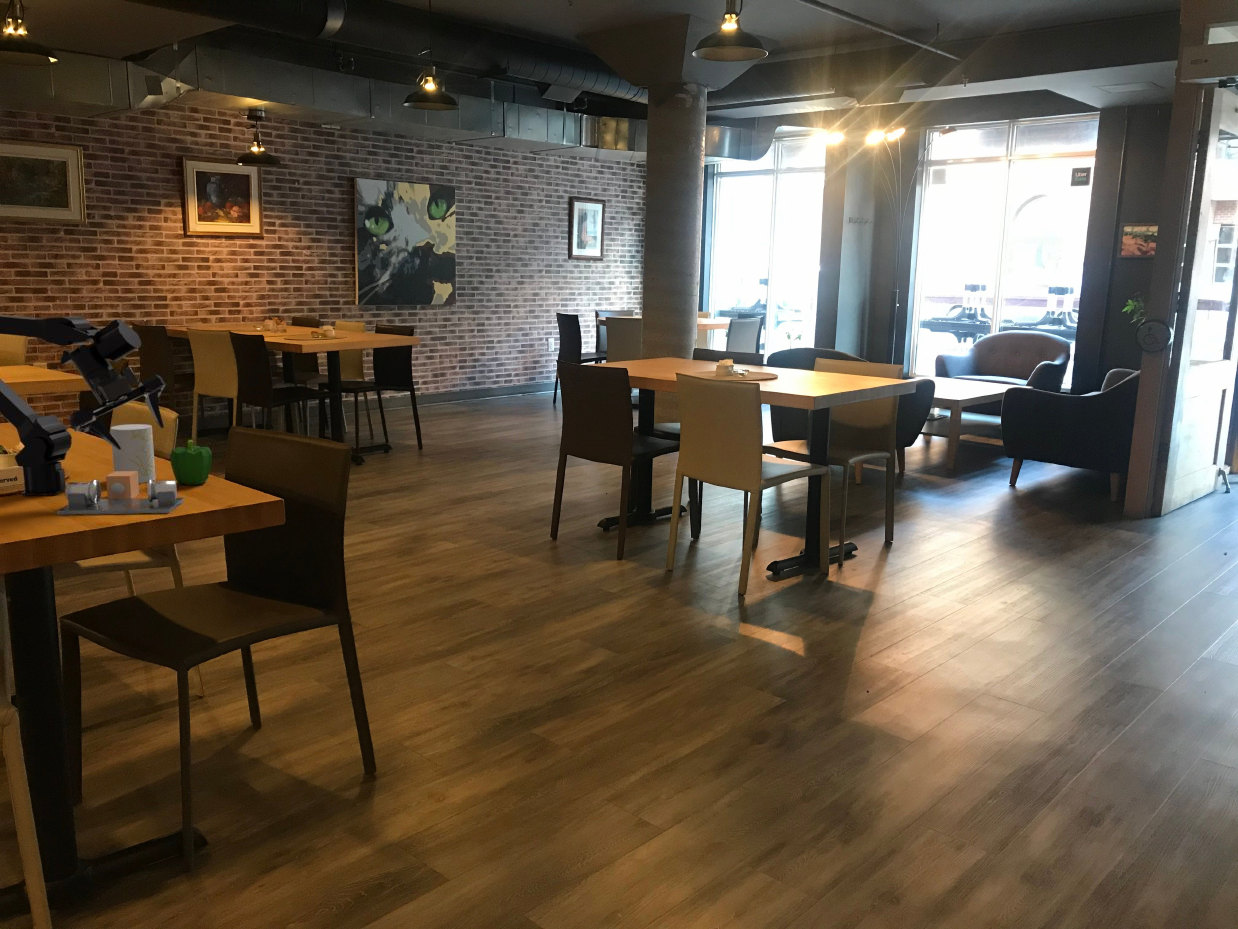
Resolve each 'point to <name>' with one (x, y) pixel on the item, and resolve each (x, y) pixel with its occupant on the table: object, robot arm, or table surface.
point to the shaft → (162, 492)
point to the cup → (134, 450)
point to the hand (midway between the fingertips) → (141, 438)
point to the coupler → (122, 484)
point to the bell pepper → (191, 464)
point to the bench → (107, 502)
